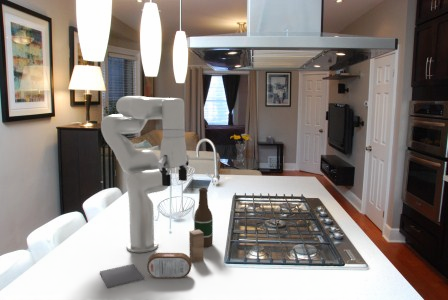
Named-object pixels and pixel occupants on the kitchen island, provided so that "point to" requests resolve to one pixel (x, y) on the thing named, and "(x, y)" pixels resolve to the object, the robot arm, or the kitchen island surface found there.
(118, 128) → the robot arm
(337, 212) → the kitchen island surface
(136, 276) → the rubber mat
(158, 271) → the tin
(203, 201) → the beer bottle
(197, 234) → the walnut block
